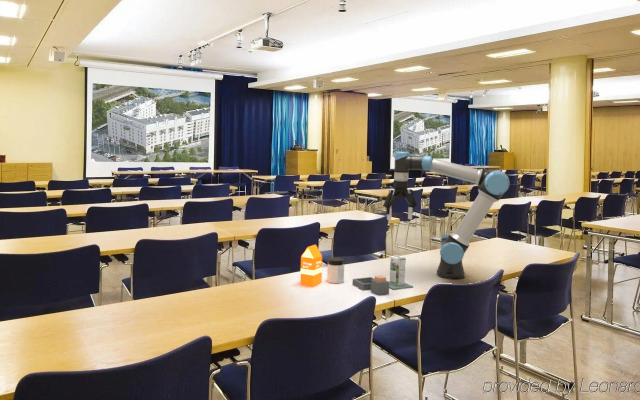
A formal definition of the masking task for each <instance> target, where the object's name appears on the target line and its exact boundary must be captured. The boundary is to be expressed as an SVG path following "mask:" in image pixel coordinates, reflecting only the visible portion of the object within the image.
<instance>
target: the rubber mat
mask: <svg viewBox="0 0 640 400" xmlns="http://www.w3.org/2000/svg"><path fill="white" fill-rule="evenodd" d="M411 288H414V285H412V284H409V283H407V282H405V284H404V285H401V286H395V285H392V284H389V290H393V291H395V290H404V289H405V290H406V289H411Z"/></svg>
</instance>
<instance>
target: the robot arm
mask: <svg viewBox="0 0 640 400" xmlns="http://www.w3.org/2000/svg"><path fill="white" fill-rule="evenodd" d="M394 154H395V156H394V175H393V179H394V181H393V189H388V193H387V196H386V198H385V200H384V202H383V205H382V207H384V208H385V212H386V220H387V221H389V222H390V221H392V206H393V204H394V203H395V202H396V200H397V199H404V200H405V201H406V203H407V205H408V209H407V212H408V213H407V220H410V221H411V220H413V213H414V208H416V207H417V206H418V205H417V201H416V198H415V196H414V192H413V191H414V190H413V189H411V188H409V181H408V180H409V173H410V172H409V171H412V170H413V171H415V170H416V171H426V172H431V173H434V174H438V175H443V176H446V177H450V178H453V179H458V180H461V181H465V182H469V183H473V184H475V185H476V186H477V187H478V189H477V191H478V195H477V196H476V198H475V199H474V201H473V202H472V204H471V206H470V207H469V208H468V210H467V212H466V214H465V215H464V217H463V218H462V220H461V221H460V222H459V225H458V226H457V227H456V229H455V230H454V232H452V233H451V232H450V233H449V234H442V235H441V239H440V241H441V242H440V244H441V245H440V250H439V254H440V260H439V264H438V267H437V269H436V276H437V275H438V276H437V277H439V276H441V277H440V278H443V277H445V278H444V279H448V278H461V279H464V278H465V277H464V276H465V274H466V273H465V269H464V266H463V259H464V257H465V253H466V252H467V250H468V248H469V247H470V241H471V239H472V237H473V235H474V234H475V233H476V230H477V229H478V228H479V226H480V225H481V223H482V221H483V220H484V219H485V217H486V215H487V214H488V212H489V210H490V209H491V208H492V206H493V205H494V203H496V202H499V201H500V200H501V198H502V197H503V195H504V194H505V193H506V192H507V191H508V190H509V189H510V188H509V187H510V183H511V182H510V178H509V176H508V175H507V173H505V172H504V171H502V170H497V169H496V170H493V169H492V170H491V169H486V168H481V169H477V168H474V167H470V166H466V165H463V164H457V163H454V162H449V161H447V160H441V159H438V158H433V157H432V156H430V155H424V154H423V155H411V154H410V152H409V151H396V152H395V153H394ZM408 188H409V189H408ZM463 277H464V278H463Z"/></svg>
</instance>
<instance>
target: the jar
mask: <svg viewBox="0 0 640 400" xmlns="http://www.w3.org/2000/svg"><path fill="white" fill-rule="evenodd" d="M344 260H345V259H344V258H342V257H335V256H334V257H329V258H328V260H327V269H326V270H327V271H326V272H327V275H326V278H327V279H326V280H327V282H328V283H329V284H335V283H338V284H341V283H340V282H343V283H344V282H345V280H344V279H345V264H344V262H345V261H344Z"/></svg>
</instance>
